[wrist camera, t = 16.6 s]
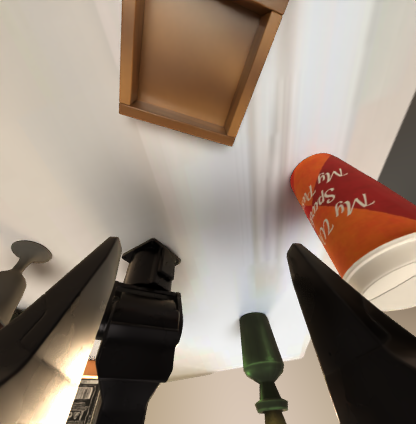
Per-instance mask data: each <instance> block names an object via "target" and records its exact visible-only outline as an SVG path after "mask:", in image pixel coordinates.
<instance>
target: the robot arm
mask: <svg viewBox="0 0 416 424" xmlns="http://www.w3.org/2000/svg"><path fill="white" fill-rule="evenodd" d="M121 252H122V247H121V244H120V240H119V238H118V237H109V238H108V239H106V240H105V241H104V242H103V243H102V244H101V245H100V246H98V247H97V248H96V249H95V250H94V251H93V252H92V253H90V254H89V255H88V256H87V257H86V258H85V259H83V260H82V261H81V262H80V263H79V264H78V265H77V266H75V267H74V268H73V269H72V270H71V271H70V272H69V273H67V274H66V275H65V276H64V277H63V278H62V279H61V280H59V281H58V282H57V283H56V284H55V285H54V286H52V287H51V288H50V289H49V290H48V291H47V292H46V293H45V294H43V295H42V296H41V297H40V298H39V299H37V300H36V301H35V302H34V303H33V304H32V305H30V306H29V307H28V308H27V309H26V310H24V311H23V312H22V313H21V314H20V315H18V316H17V317H16V318H14V319H13V320H12V321H11V322H9V323H8V324H7V325H5V326H4V327H3V328H1V329H0V424H66V421H67V418H68V415H69V412H70V409H71V406H72V404H73V401H74V398H75V395H76V392H77V389H78V386H79V383H80V380H81V378H82V375H83V372H84V369H85V366H86V363H87V360H88V358H89V355H90V352H91V349H92V346H93V343H94V340H95V339H96V340H101V343H100V346H99V349H98V352H97V355H96V361H95V365H96V371H97V376H98V382H99V388H100V394H101V397H100V400H99V404H98V407H97V411H96V414H95V418H94V421H93V424H144V420H145V415H146V410H147V406H148V402H149V400H150V399H151V397H152V396H153V394H154V393H155V391H156V390H157V388H158V387H159V385H160V383H165V382H166V381H167V380H168V378H169V376H170V374H171V372H172V370H173V361H174V352H175V347H176V346H177V345H178V343H179V340H180V337H181V333H182V327H183V314H182V304H181V293H179V292H176V293H175V292H171V283H172V280H173V279H174V270H175V266H176V265H178V264H180V262H181V260H180V259H179V258H178V257H177V256H176V255H174V254H173V253H172V252H171V251H169V250H168V249H167V248H166V247H165V246H163V245H162V244H161V243H160V242H158V241H157V240H156V239H150V240H148V241H146V242H145V243H143V244H141V245H139V246H137V247H135V248H133V249H132V250H130V251H128V252H126V253H124V254H123V255H122V259H124V260H125V261H127V262H128V263H129V266H128V269H127V272H126V276H125V279H124V282H123V283H121V282H119V281H115V279H116V275H117V271H118V266H119V261H120V257H121ZM287 260H288V265H289V269H290V274H291V278H292V282H293V286H294V289H295V292H296V295H297V298H298V301H299V304H300V307H301V310H302V313H303V316H304V319H305V321H306V324H307V327H308V330H309V333H310V336H311V339H312V342H313V345H314V348H315V351H316V354H317V357H318V360H319V363H320V366H321V369H322V371H323V375H324V378H325V381H326V384H327V387H328V390H329V393H330V396H331V399H332V402H333V405H334V408H335V411H336V414H337V417H338V420H339V423H340V424H416V337H415V336H414V335H412V334H411V333H410V332H408V331H407V330H406V329H404V328H403V327H401V326H400V325H399V324H398V323H396V322H395V321H394V320H392V319H391V318H390V317H389V316H387V315H386V314H385V313H383V312H382V311H381V310H380V309H378V308H377V307H376V306H375V305H373V304H372V303H371V302H370V301H369V300H367V299H366V298H365V297H364V296H362V295H361V294H360V293H359V292H358V291H357V290H355V289H354V288H353V287H352V286H351V285H349V284H348V283H347V282H346V281H345V280H344V279H342V278H341V277H340V276H339V275H338V274H336V273H335V272H334V271H333V270H332V269H330V268H329V267H328V266H327V265H326V264H324V263H323V262H322V261H321V260H320V259H319V258H317V257H316V256H315V255H314V254H313V253H311V252H310V251H309V250H308V249H307V248H305V247H304V246H303V245H302V244H299V243H293V244H292V245H291V247H290V249H289V250H288V252H287Z"/></svg>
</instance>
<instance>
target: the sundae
mask: <svg viewBox="0 0 416 424" xmlns="http://www.w3.org/2000/svg"><path fill="white" fill-rule="evenodd" d="M11 249H12V251H13V253H14V254H15V255H16V256H17V257H19V258H20V259H19V261H18V262H17V264H16V265H15V266H14V267H13V269H11V270H8V271H1V272H0V329H1V328H3V327H4V326H5V325H7V324H8V323H9V321H10V319H11V317H12V315H13V313H14V311H15V309H16V307H17V305H18V303H19V301H20V299H21V298H22V296H23V293H24V291H25V288H26V281H25V278H24V277H23V275H22V272H23V271H24V270H25V268H26V267H27V266H28V265H29V264H30V263H32V262H33V263H45V262H48V261H49V260H50V259H51V253H50V252H49V250H48V249H47V248H45V247H44V246H42V245H40V244H38V243H35V242H31V241H17V242H15V243H13V244H12V246H11Z"/></svg>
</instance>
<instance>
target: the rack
mask: <svg viewBox="0 0 416 424" xmlns="http://www.w3.org/2000/svg"><path fill="white" fill-rule="evenodd" d="M288 2H289V0H122V21H121V57H120V94H119V102H120V103H119V114H122V115H126V116H129V117H132V118H136V119H139V120H143V121H146V122H150V123H153V124H156V125H160V126H163V127H167V128H170V129H173V130H177V131H180V132H184V133H187V134H190V135H194V136H197V137H201V138H204V139H208V140H211V141H214V142H218V143H221V144H225V145H228V146H232V145H233V143H234V140H235V137H236V135H237V132H238V130H239V127H240V125H241V122H242V120H243V117H244V114H245V112H246V109H247V107H248V104H249V102H250V99H251V96H252V94H253V91H254V89H255V86H256V84H257V81H258V78H259V76H260V73H261V71H262V68H263V66H264V63H265V60H266V58H267V55H268V53H269V50H270V48H271V45H272V42H273V40H274V37H275V35H276V32H277V30H278V27H279V24H280V22H281V19H282V15H283V14H284V12H285V9H286V7H287V4H288Z"/></svg>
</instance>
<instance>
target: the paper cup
mask: <svg viewBox="0 0 416 424" xmlns="http://www.w3.org/2000/svg"><path fill="white" fill-rule="evenodd" d="M290 184H291V188H292V190H293V192H294V194H295V196H296V198H297V200H298V201H299V203H300V205H301V207H302V209H303V211H304V212H305V214H306V216H307V218H308V219H309V221H310V223H311V225H312V227H313V228H314V230H315V232H316V234H317V235H318V237H319V239H320V241H321V242H322V244H323V246H324V248H325V249H326V251H327V253H328V255H329V257H330V258H331V260H332V262H333V264H334V265H335V267H336V269H337V271H338V272H339V274H340V276H341V278H342V279H344V280H345V281H346V282H347V283H348V284H349V285H351V286H352V287H353V288H354V289H355V290H357V291H358V292H359V293H360V294H361V295H362V296H364V297H365V298H366V299H367V300H369V301H370V302H371V303H372V304H373V305H375V306H376V307H377V308H378V309H380V310H381V311H392V310H400V309H406V308H411V307H415V306H416V206H415V205H414V204H412V203H411V202H409V201H408V200H406V199H404V198H403V197H401V196H400V195H398V194H397V193H395V192H393V191H392V190H390V189H389V188H387V187H386V186H384V185H383V184H381V183H380V182H378V181H376V180H374V179H373V178H371V177H369V176H367V175H366V174H364V173H362V172H361V171H359V170H357V169H356V168H354V167H352V166H351V165H349V164H347V163H346V162H344V161H342V160H341V159H339V158H337V157H335V156H333V155H331V154H327V153H320V154H315V155H312V156H310V157H308V158H306V159H304V160H303V161H302V162H301V163H299V164H298V166H297V167H296V168H295V169H294V171H293V173H292V175H291V179H290Z"/></svg>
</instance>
